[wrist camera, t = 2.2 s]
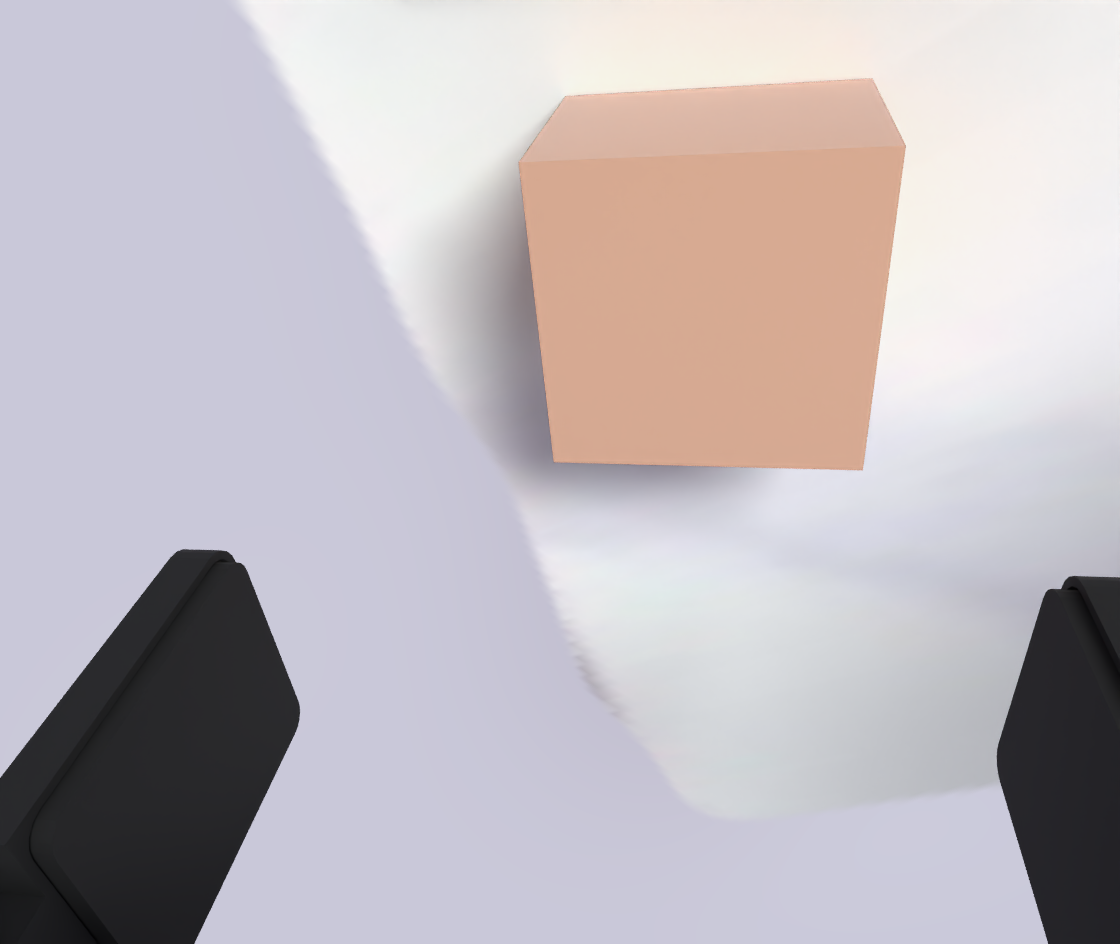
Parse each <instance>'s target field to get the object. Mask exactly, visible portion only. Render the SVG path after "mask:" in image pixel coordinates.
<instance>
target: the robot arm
mask: <svg viewBox="0 0 1120 944" xmlns="http://www.w3.org/2000/svg"><path fill="white" fill-rule="evenodd" d="M299 716H300V706H299V702H298V699H297V696H296V695H295V691H294V689H293V686H292V684H291V681H290V679H289V677H288V674H287V671H286V669H285V666H284V664H283V661H282V658H281V656H280V654H279V651H278V648H277V646H276V643H275V641H274V638H273V636H272V633H271V631H270V628H269V626H268V623H267V620H266V618H265V615H264V613H263V610H262V608H261V605H260V603H259V600H258V598H257V595H256V592H255V590H254V587H253V585H252V582H251V580H250V577H249V575H248V572H247V570H246V568H245V567H244V565H242V564H241V563H236V562H235V560H234V558H233V556H232V555H231V554H230V553H228V552H227V551H219V550H187V549H186V550H185V549H183V550H180V551H177V552H176V553H175V554H174V555H173V556H172V557H171V558H170V559H169V560H168V562H167V563H166V564H165V565H164V567H163V568H162V569H161V571H160V572H159V573H158V575H157V576H156V577H155V578H154V580H153V581H152V582H151V584H150V585H149V586H148V587H147V589H146V590H145V592H144V593H143V594H142V595H141V597H140V598H139V599H138V600H137V602H136V603H135V604H134V606H133V607H132V608H131V610H130V611H129V612H128V613H127V615H126V616H125V617H124V619H123V620H122V621H121V622H120V624H119V625H118V626H117V628H116V629H115V630H114V631H113V633H112V634H111V635H110V637H109V638H108V639H107V641H106V642H105V643H104V644H103V646H102V647H101V648H100V650H99V651H98V652H97V653H96V655H95V656H94V657H93V659H92V660H91V661H90V663H89V664H88V665H87V666H86V668H85V669H84V670H83V672H82V673H81V674H80V675H79V677H78V678H77V680H76V681H75V682H74V683H73V685H72V686H71V687H70V689H69V690H68V691H67V692H66V694H65V695H64V696H63V698H62V699H61V700H60V702H59V703H58V704H57V705H56V707H55V708H54V709H53V711H52V712H51V713H50V714H49V716H48V717H47V718H46V720H45V721H44V722H43V723H42V725H41V726H40V727H39V729H38V730H37V731H36V733H35V734H34V735H33V737H32V738H31V739H30V740H29V741H28V743H27V744H26V745H25V747H24V748H23V749H22V751H21V752H20V753H19V754H18V756H17V757H16V758H15V760H14V761H13V762H12V763H11V765H10V766H9V767H8V769H7V770H6V771H5V773H4V774H3V775H2V776H1V778H0V944H194V943H195V941H196V939H197V937H198V934H199V932H200V930H201V928H202V926H203V924H204V922H205V920H206V918H207V916H208V914H209V912H210V910H211V908H212V905H213V903H214V901H215V899H216V897H217V895H218V893H219V891H220V889H221V887H222V885H223V882H224V880H225V878H226V876H227V874H228V872H229V870H230V868H231V866H232V864H233V862H234V860H235V857H236V855H237V853H238V851H239V849H240V847H241V845H242V843H243V841H244V839H245V837H246V834H247V832H248V830H249V828H250V826H251V824H252V822H253V820H254V818H255V816H256V813H257V812H258V810H259V807H260V805H261V803H262V801H263V799H264V797H265V795H266V793H267V791H268V789H269V787H270V784H271V782H272V780H273V778H274V776H275V774H276V772H277V770H278V768H279V766H280V764H281V761H282V759H283V757H284V755H285V753H286V751H287V749H288V747H289V745H290V743H291V741H292V739H293V737H294V735H295V732H296V730H297V727H298V723H299ZM997 768H998V775H999V779H1000V783H1001V786H1002V789H1003V793H1004V796H1005V800H1006V803H1007V806H1008V810H1009V813H1010V816H1011V820H1012V823H1013V826H1014V830H1015V833H1016V837H1017V840H1018V843H1019V847H1020V850H1021V853H1022V856H1023V860H1024V863H1025V867H1026V870H1027V874H1028V877H1029V880H1030V884H1031V887H1032V890H1033V894H1034V897H1035V900H1036V904H1037V907H1038V911H1039V914H1040V917H1041V921H1042V924H1043V927H1044V931H1045V934H1046V937H1047V941H1048V944H1120V578H1118V577H1085V576H1072V577H1068V578H1067V579H1066V580H1065V582H1064V584H1063V586H1062V588H1061V589H1049V590H1048V591H1047V592H1046V593H1045V596H1044V598H1043V601H1042V604H1041V608H1040V611H1039V614H1038V617H1037V621H1036V624H1035V627H1034V630H1033V634H1032V637H1031V640H1030V643H1029V647H1028V650H1027V653H1026V656H1025V660H1024V663H1023V666H1022V669H1021V673H1020V676H1019V679H1018V682H1017V686H1016V689H1015V692H1014V695H1013V699H1012V702H1011V705H1010V708H1009V712H1008V715H1007V718H1006V721H1005V725H1004V728H1003V731H1002V734H1001V738H1000V741H999V744H998V749H997Z"/></svg>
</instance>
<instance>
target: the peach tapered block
mask: <svg viewBox="0 0 1120 944" xmlns="http://www.w3.org/2000/svg"><path fill="white" fill-rule="evenodd" d="M905 148H906V145H905V143H904V141H903V139H902V137H901V135H900V133H899V131H898V129H897V127H896V125H895V123H894V121H893V119H892V117H891V115H890V113H889V111H888V109H887V107H886V105H885V103H884V101H883V99H882V97H881V95H880V93H879V91H878V89H877V87H876V85H875V83H874V81H873V79H854V80H837V81H820V82H803V83H785V84H768V85H751V86H734V87H716V88H699V89H682V90H665V91H647V92H630V93H613V94H596V95H578V96H565V98H564V99H563V101H562V102H561V103H560V105H559V106H558V108H557V109H556V110H555V112H554V113H553V115H552V116H551V117H550V119H549V120H548V122H547V123H546V125H545V126H544V127H543V129H542V130H541V132H540V133H539V134H538V136H537V137H536V139H535V140H534V141H533V143H532V144H531V146H530V147H529V149H528V150H527V151H526V153H525V154H524V156H523V157H522V158H521V160H520V161H519V170H520V178H521V187H522V195H523V204H524V212H525V221H526V229H527V238H528V247H529V255H530V264H531V272H532V281H533V289H534V298H535V306H536V315H537V323H538V332H539V341H540V349H541V358H542V366H543V375H544V383H545V392H546V400H547V409H548V417H549V426H550V435H551V443H552V452H553V460H554V462H561V463H600V464H639V465H678V466H717V467H756V468H796V469H835V470H863V464H864V457H865V449H866V442H867V434H868V427H869V419H870V412H871V404H872V397H873V389H874V381H875V374H876V366H877V359H878V351H879V344H880V336H881V329H882V321H883V314H884V306H885V298H886V291H887V283H888V276H889V268H890V261H891V253H892V246H893V238H894V231H895V223H896V215H897V208H898V200H899V193H900V185H901V178H902V170H903V163H904V155H905Z"/></svg>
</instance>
